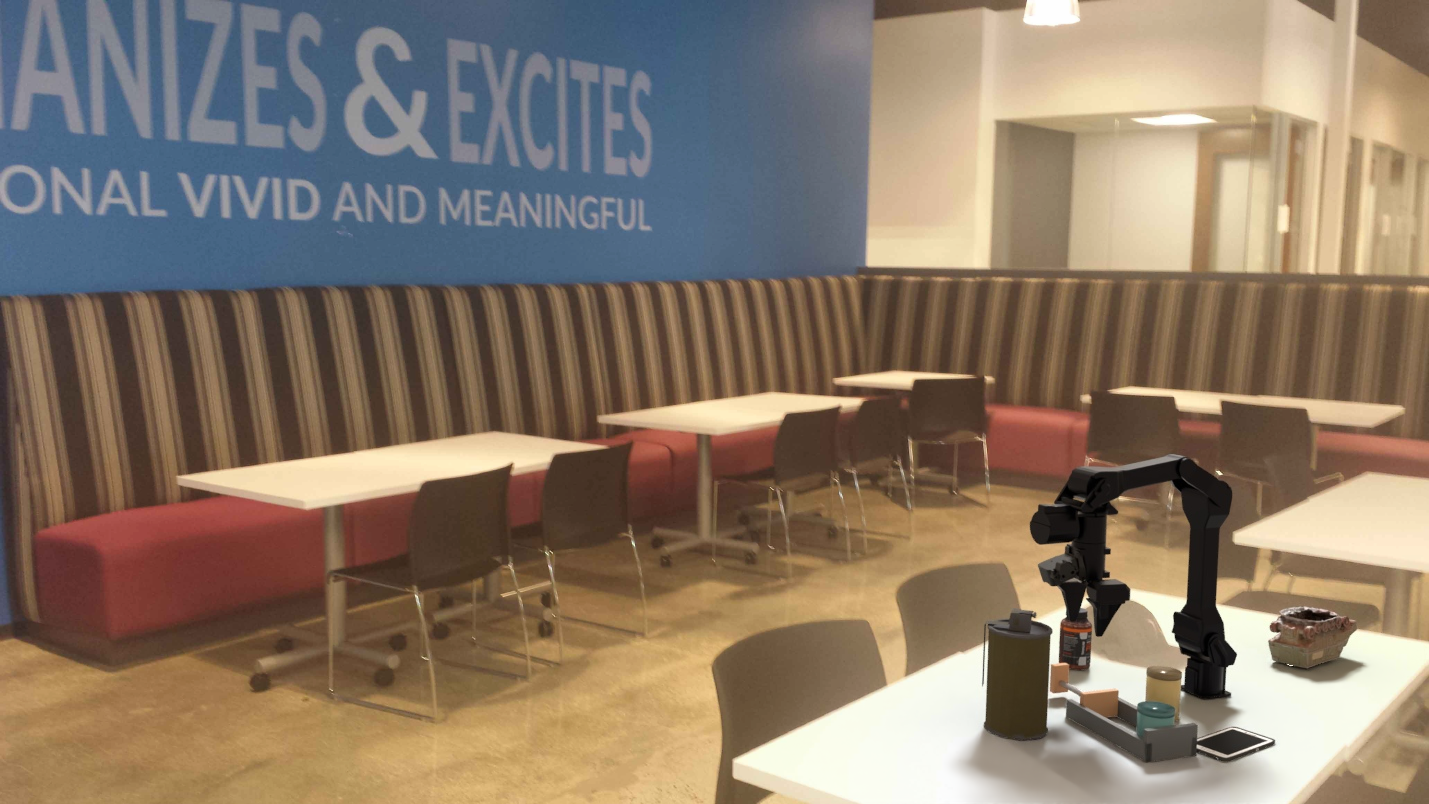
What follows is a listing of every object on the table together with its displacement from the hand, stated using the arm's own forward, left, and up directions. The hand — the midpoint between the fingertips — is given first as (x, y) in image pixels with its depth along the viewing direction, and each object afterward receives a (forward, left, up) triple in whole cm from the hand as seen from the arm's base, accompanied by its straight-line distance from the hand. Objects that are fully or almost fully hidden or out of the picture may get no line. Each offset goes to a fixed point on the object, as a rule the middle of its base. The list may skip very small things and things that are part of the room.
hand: (1085, 628), depth 212 cm
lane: (+1, +13, -14) cm, 19 cm away
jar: (+1, +20, -14) cm, 24 cm away
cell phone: (-13, +22, -15) cm, 29 cm away
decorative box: (-62, -13, -15) cm, 65 cm away
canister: (+17, +5, -14) cm, 23 cm away
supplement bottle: (-13, -21, -14) cm, 28 cm away
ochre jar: (-11, +7, -14) cm, 19 cm away
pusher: (+1, 0, -14) cm, 14 cm away
